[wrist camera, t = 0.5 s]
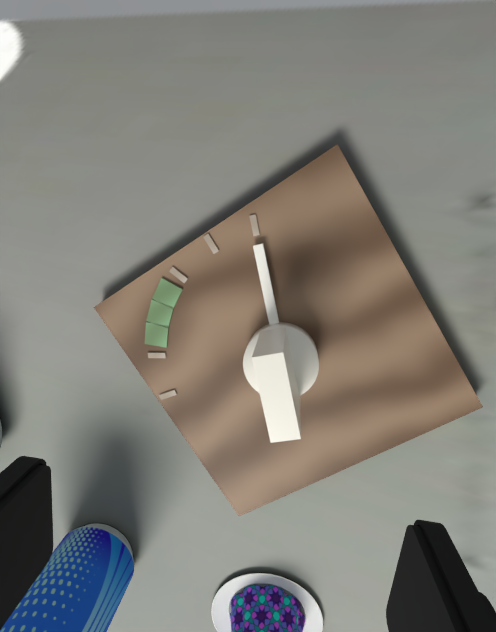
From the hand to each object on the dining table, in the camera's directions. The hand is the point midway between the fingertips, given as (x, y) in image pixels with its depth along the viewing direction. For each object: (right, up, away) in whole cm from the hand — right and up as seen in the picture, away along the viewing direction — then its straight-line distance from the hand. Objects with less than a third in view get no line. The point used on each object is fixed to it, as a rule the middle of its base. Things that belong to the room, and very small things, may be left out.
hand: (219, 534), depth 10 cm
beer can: (-15, -20, +32) cm, 41 cm away
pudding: (+3, -27, +31) cm, 41 cm away
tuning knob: (+3, +5, +21) cm, 22 cm away
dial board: (+4, +3, +24) cm, 24 cm away
